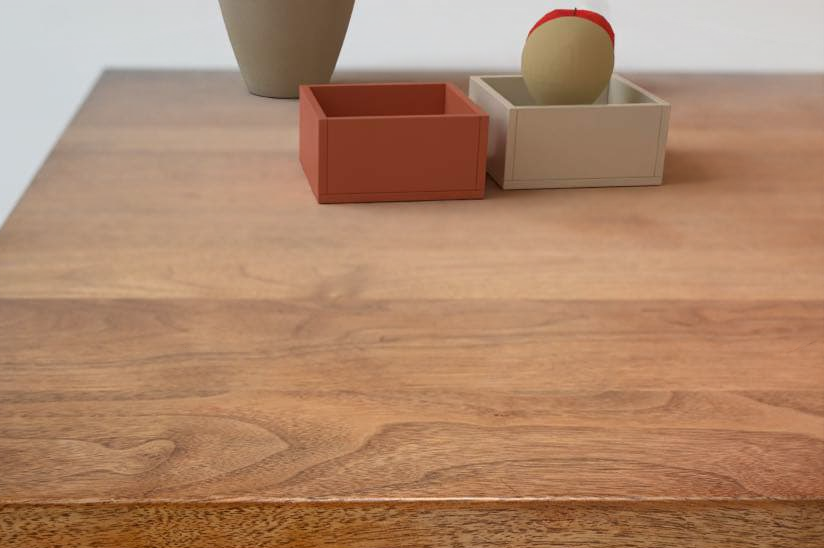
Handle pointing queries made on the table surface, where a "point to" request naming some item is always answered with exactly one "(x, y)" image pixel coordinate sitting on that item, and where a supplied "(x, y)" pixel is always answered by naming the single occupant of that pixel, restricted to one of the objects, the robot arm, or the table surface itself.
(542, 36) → the light bulb
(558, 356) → the table surface
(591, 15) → the apple
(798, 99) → the table surface
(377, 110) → the terracotta bin
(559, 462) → the table surface
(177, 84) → the table surface
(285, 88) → the plant pot
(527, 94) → the cream bin
